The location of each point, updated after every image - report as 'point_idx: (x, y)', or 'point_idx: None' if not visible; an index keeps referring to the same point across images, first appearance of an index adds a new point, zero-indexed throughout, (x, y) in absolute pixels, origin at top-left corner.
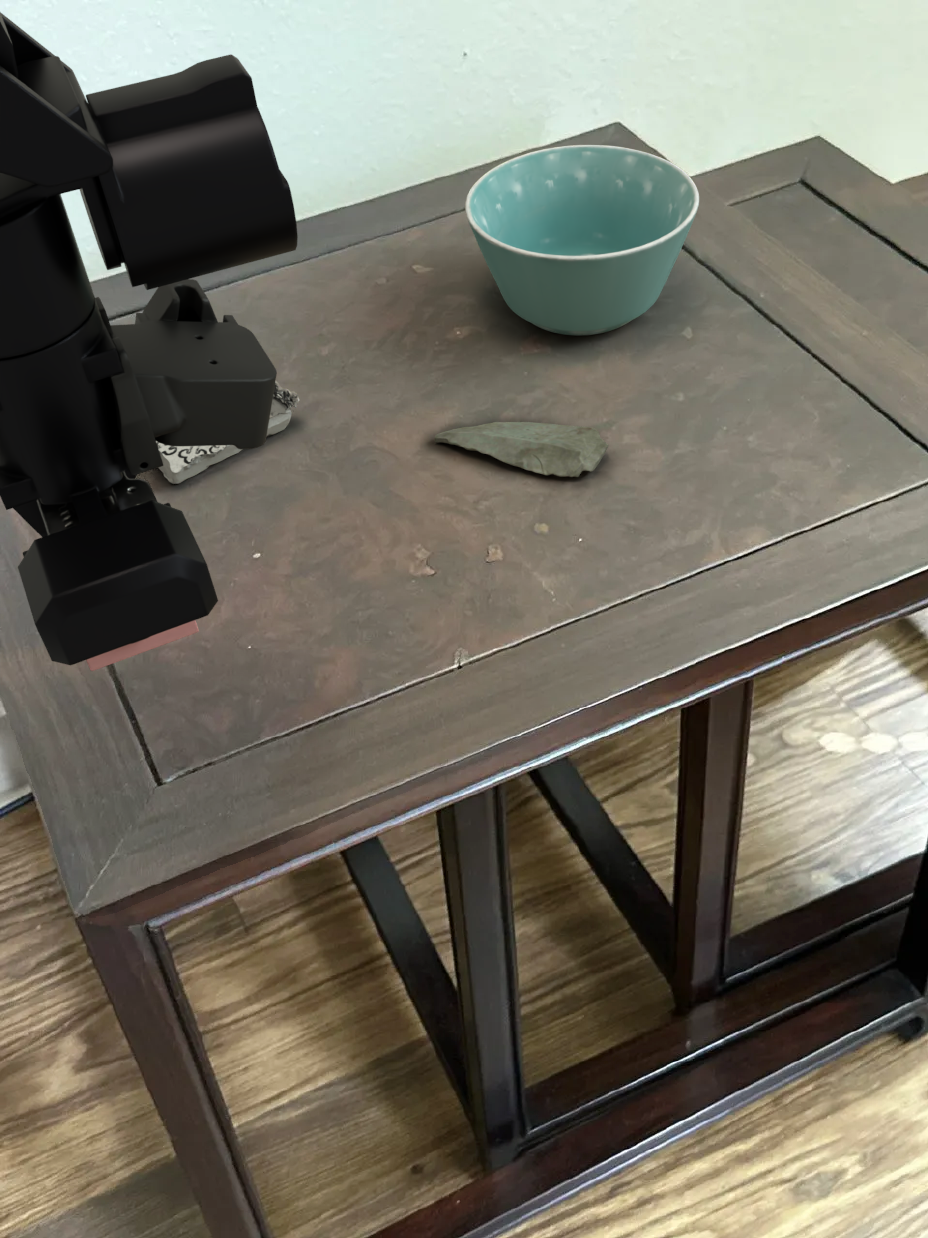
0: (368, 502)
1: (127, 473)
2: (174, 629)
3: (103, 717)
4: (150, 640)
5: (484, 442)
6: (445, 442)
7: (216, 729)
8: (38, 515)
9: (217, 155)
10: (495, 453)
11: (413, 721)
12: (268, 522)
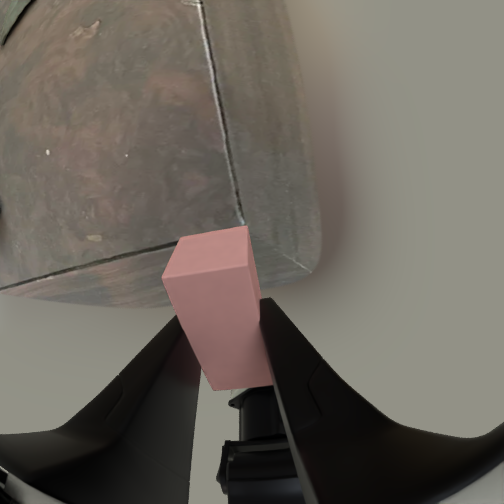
0: (26, 77)
1: (81, 481)
2: (253, 263)
3: None
4: (259, 291)
5: (16, 10)
6: (5, 37)
7: (203, 185)
8: (180, 502)
9: None
10: (26, 2)
11: (245, 39)
12: (25, 146)
